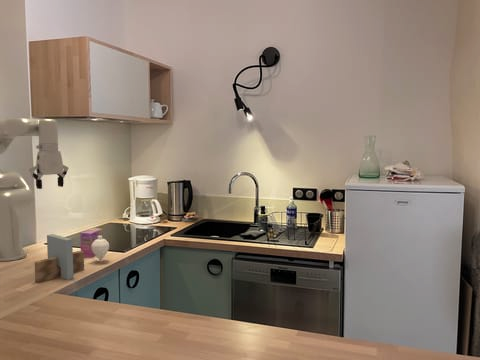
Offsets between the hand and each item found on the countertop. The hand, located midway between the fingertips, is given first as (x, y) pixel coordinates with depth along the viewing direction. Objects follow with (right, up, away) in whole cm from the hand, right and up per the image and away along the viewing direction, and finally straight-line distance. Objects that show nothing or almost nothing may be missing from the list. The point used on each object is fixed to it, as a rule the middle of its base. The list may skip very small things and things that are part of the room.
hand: (50, 187), depth 183 cm
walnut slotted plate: (+9, -36, -11) cm, 38 cm away
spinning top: (+19, -34, +8) cm, 40 cm away
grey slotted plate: (+9, -36, -11) cm, 38 cm away
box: (+11, -33, +20) cm, 40 cm away
